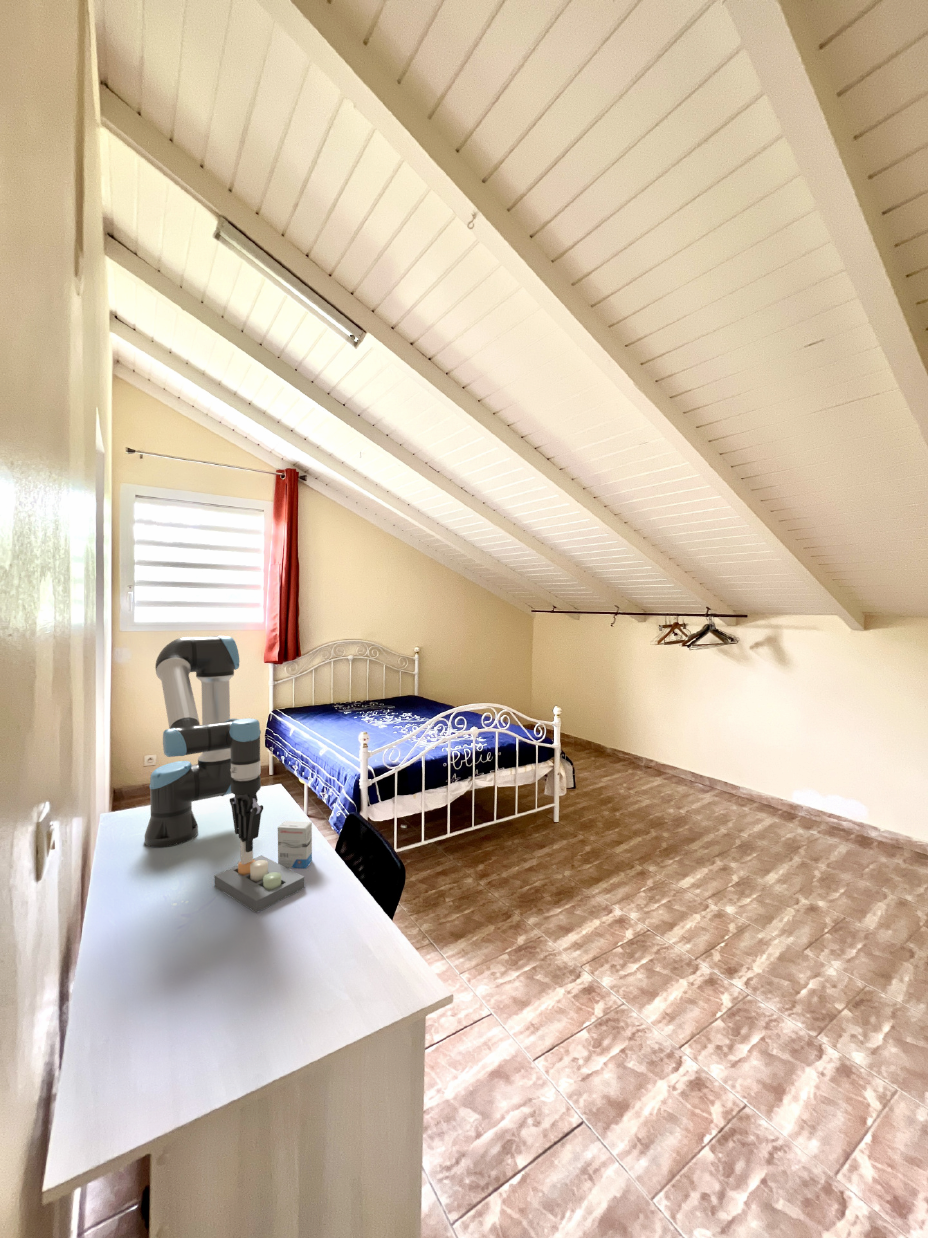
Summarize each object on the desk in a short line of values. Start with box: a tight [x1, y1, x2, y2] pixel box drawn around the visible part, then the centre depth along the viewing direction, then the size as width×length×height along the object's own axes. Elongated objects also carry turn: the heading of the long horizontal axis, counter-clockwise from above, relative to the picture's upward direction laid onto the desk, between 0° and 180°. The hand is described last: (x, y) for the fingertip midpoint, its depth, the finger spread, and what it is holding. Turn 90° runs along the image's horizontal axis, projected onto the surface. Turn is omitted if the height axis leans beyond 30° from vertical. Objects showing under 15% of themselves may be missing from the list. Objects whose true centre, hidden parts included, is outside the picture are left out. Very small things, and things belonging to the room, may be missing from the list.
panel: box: [213, 854, 306, 914], centre depth 140 cm, size 20×14×3 cm
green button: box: [263, 872, 281, 891], centre depth 136 cm, size 4×4×4 cm
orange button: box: [237, 858, 255, 876], centre depth 143 cm, size 4×4×4 cm
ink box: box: [277, 820, 313, 869], centre depth 152 cm, size 8×5×12 cm, turn 84°
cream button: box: [250, 860, 268, 883], centre depth 140 cm, size 4×4×4 cm
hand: (246, 862), depth 143 cm, fingers closed
